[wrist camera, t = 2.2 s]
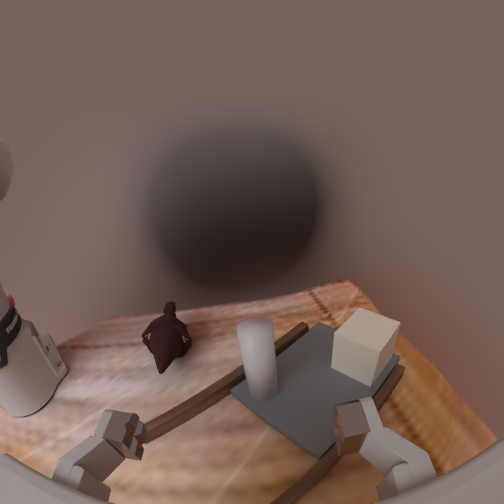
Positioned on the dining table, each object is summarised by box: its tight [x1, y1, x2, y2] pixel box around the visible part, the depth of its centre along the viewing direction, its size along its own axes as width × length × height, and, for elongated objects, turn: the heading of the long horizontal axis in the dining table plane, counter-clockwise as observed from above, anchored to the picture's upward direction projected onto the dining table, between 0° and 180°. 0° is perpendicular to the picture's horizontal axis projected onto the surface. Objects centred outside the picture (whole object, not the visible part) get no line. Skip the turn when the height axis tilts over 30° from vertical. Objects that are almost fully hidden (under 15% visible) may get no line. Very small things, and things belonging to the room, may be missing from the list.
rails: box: [145, 322, 405, 504], centre depth 26 cm, size 17×28×2 cm, turn 132°
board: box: [230, 317, 400, 460], centre depth 28 cm, size 14×18×11 cm
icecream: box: [142, 301, 192, 374], centre depth 37 cm, size 7×7×15 cm
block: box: [331, 308, 401, 387], centre depth 30 cm, size 6×6×6 cm
